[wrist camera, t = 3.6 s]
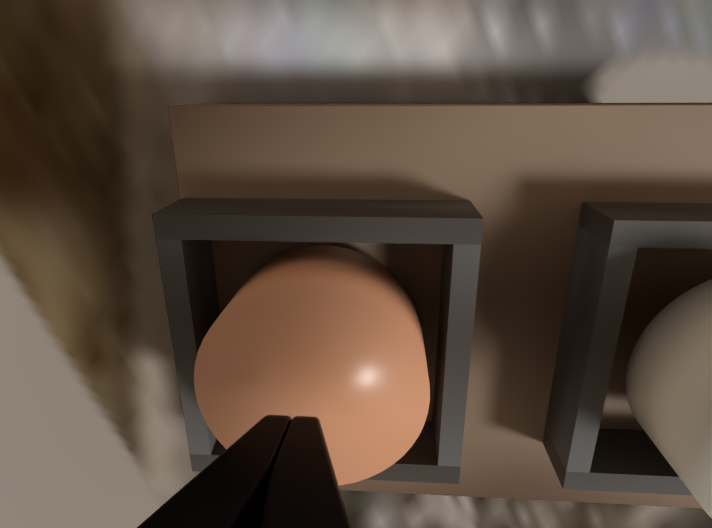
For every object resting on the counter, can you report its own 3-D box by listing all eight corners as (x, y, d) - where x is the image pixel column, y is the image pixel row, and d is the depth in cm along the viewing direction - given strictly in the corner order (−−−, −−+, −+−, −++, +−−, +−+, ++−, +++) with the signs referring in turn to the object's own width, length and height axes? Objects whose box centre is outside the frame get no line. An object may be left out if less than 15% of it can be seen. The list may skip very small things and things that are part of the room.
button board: (1039, 469, 13) (1247, 591, 10) (239, 434, 15) (197, 530, 12) (1272, 101, 10) (1698, 106, 7) (203, 104, 12) (129, 108, 8)
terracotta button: (418, 419, 11) (424, 492, 9) (240, 412, 12) (207, 481, 10) (426, 246, 10) (436, 288, 8) (221, 243, 10) (178, 282, 8)
